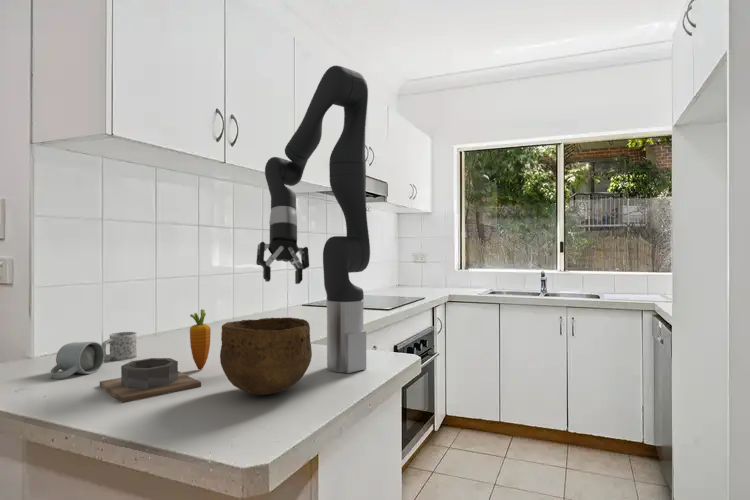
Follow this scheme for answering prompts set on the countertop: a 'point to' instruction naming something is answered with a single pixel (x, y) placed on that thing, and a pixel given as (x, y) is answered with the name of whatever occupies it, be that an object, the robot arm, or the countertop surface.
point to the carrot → (200, 340)
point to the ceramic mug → (78, 359)
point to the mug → (121, 346)
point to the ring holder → (148, 379)
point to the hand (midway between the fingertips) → (283, 282)
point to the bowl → (265, 353)
